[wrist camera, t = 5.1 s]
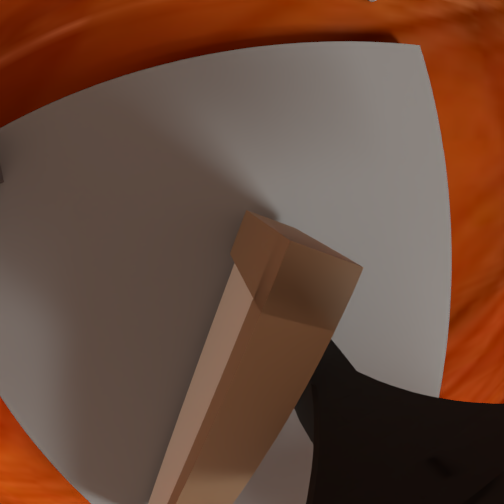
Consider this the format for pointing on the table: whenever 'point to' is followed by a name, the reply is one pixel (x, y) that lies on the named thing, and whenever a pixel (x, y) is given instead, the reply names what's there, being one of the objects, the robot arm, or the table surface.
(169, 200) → the frame
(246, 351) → the tan wooden bar
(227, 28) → the table surface
